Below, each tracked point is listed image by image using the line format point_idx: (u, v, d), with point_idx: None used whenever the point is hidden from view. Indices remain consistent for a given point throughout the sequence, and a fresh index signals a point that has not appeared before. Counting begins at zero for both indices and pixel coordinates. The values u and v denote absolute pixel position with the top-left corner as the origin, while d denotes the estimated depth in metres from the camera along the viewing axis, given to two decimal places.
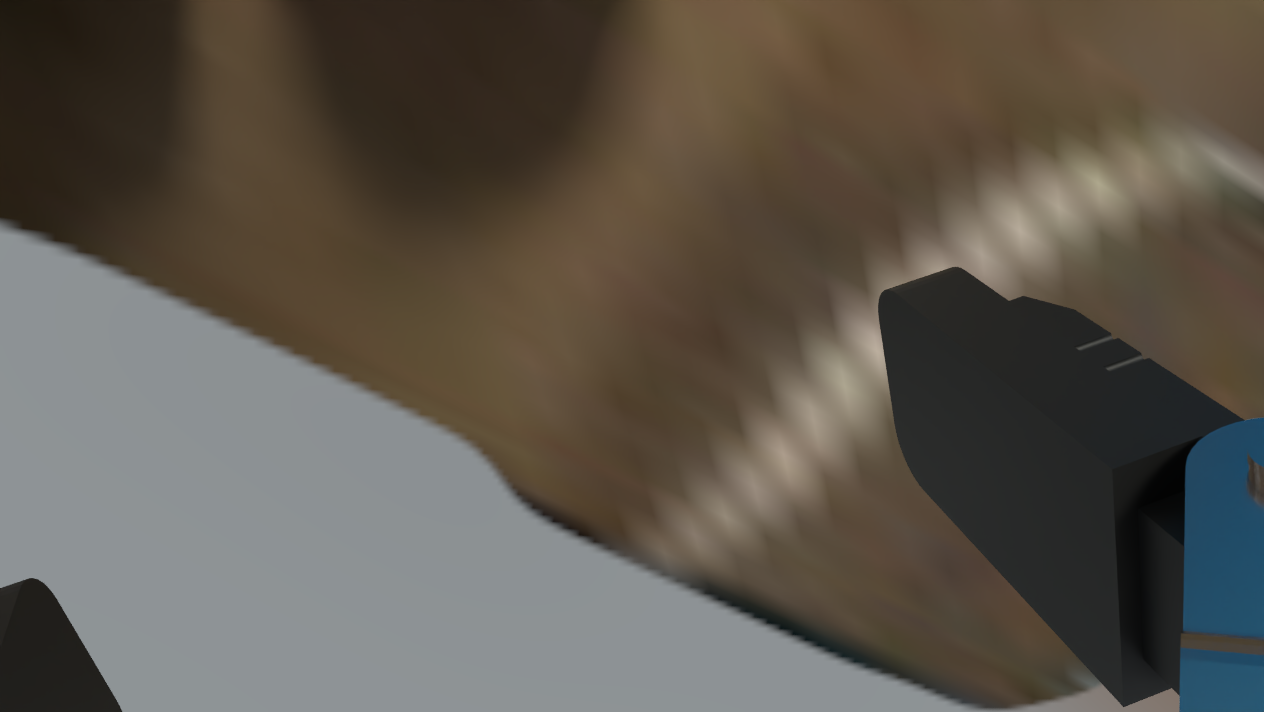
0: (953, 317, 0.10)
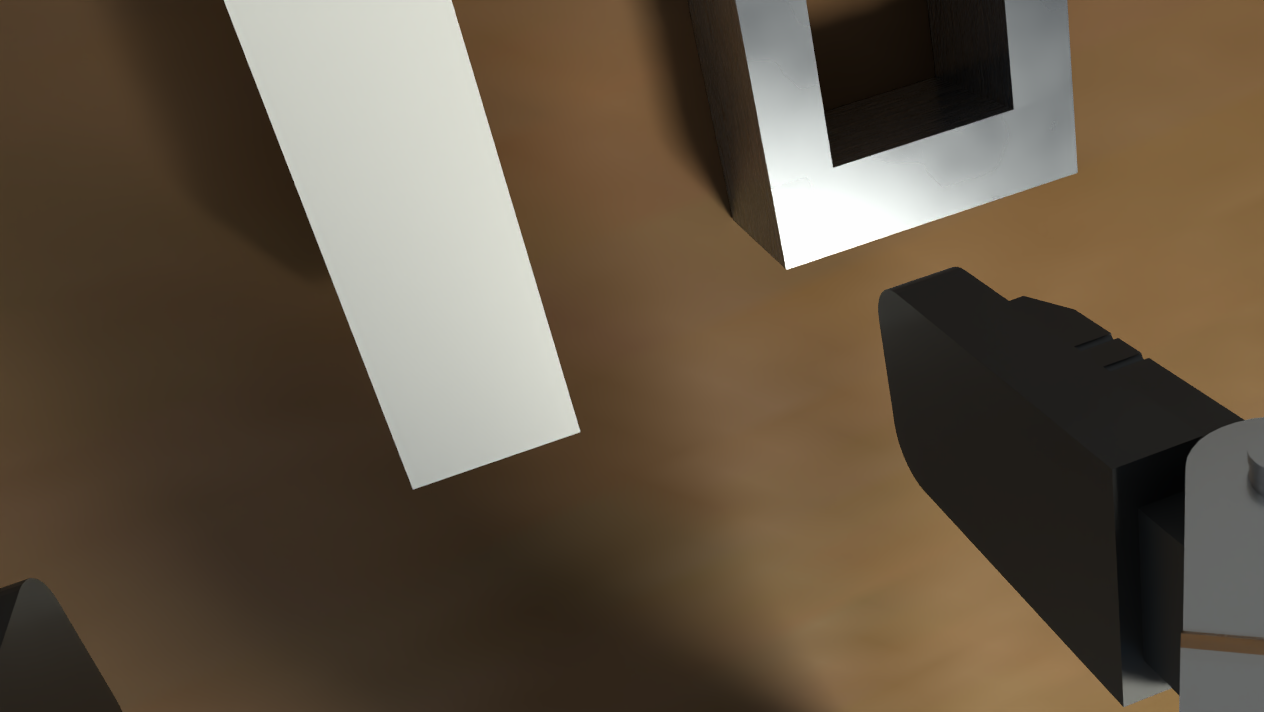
0: (953, 317, 0.10)
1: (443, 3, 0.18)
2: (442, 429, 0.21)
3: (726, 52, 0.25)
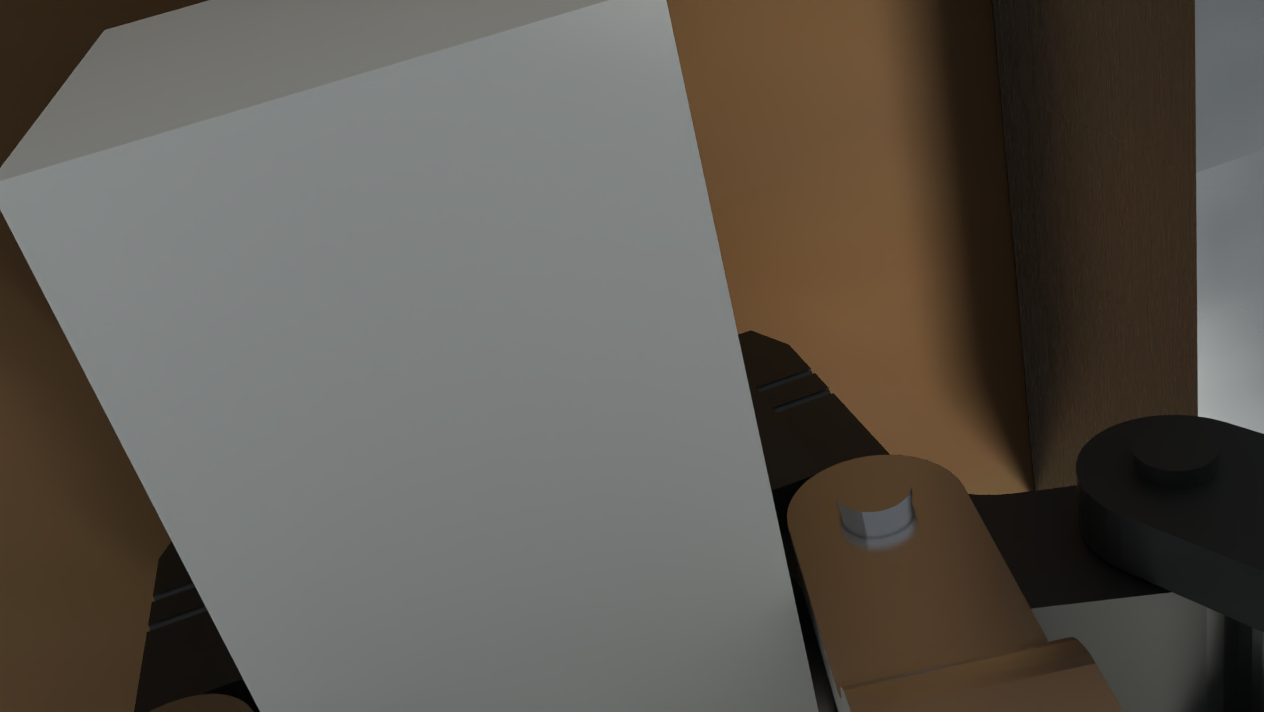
0: None
1: (716, 353, 0.07)
2: None
3: (1118, 271, 0.13)
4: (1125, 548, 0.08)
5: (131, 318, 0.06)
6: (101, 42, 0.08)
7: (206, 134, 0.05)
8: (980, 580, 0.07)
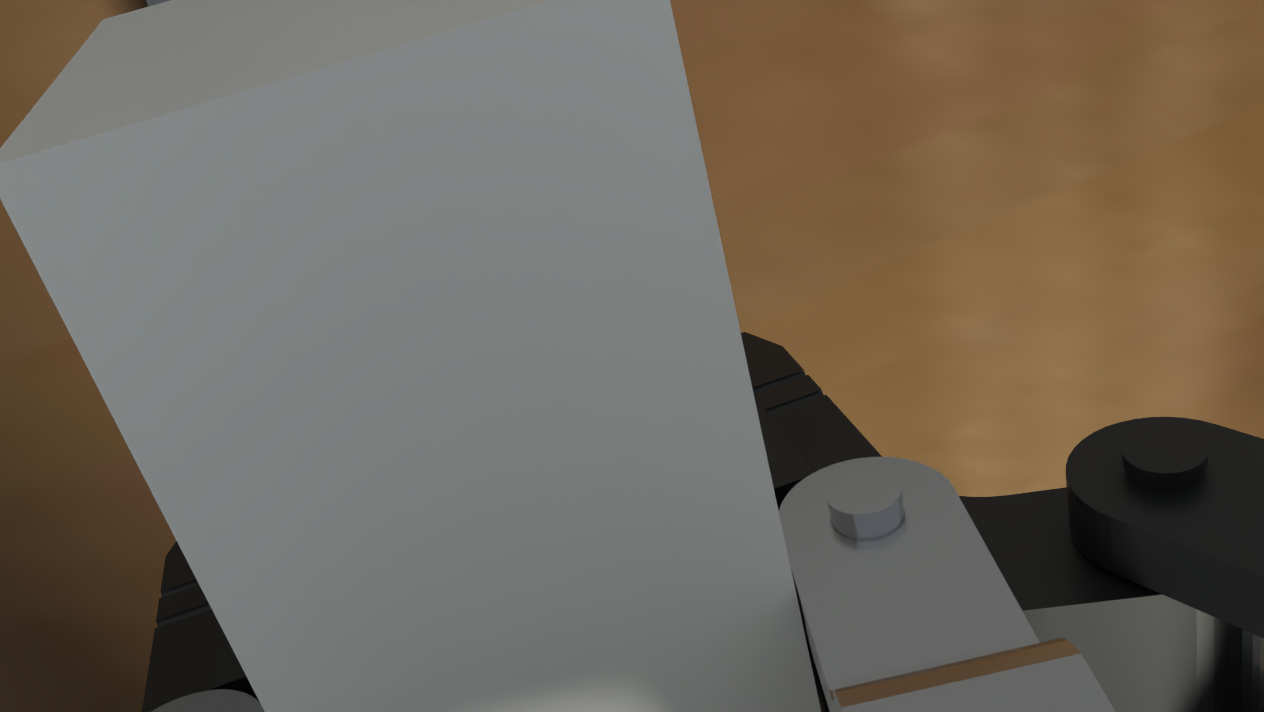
0: None
1: (717, 340, 0.07)
2: None
3: None
4: (1117, 550, 0.08)
5: (129, 303, 0.06)
6: (100, 31, 0.08)
7: (205, 120, 0.05)
8: (969, 582, 0.07)
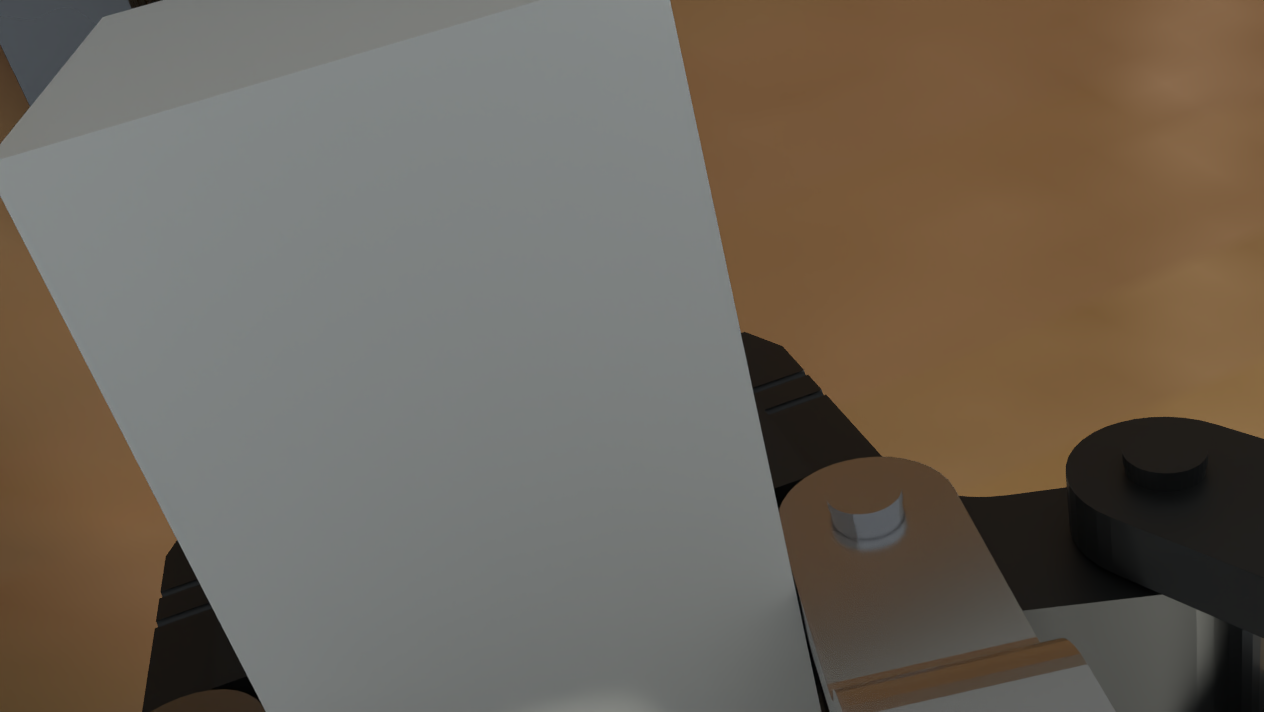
0: None
1: (716, 337, 0.07)
2: None
3: None
4: (1116, 551, 0.08)
5: (129, 299, 0.06)
6: (99, 28, 0.08)
7: (205, 116, 0.05)
8: (969, 582, 0.07)
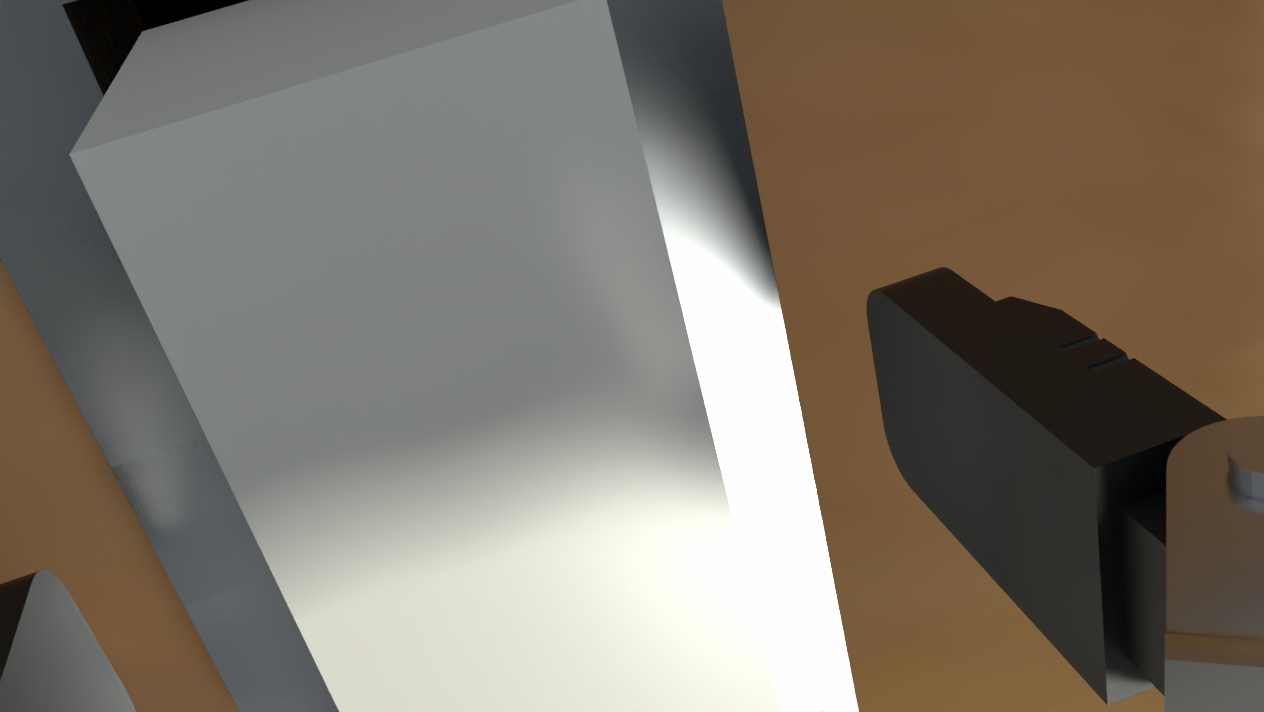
0: (940, 317, 0.10)
1: (658, 295, 0.08)
2: None
3: None
4: None
5: (181, 262, 0.07)
6: (141, 42, 0.10)
7: (241, 116, 0.07)
8: None
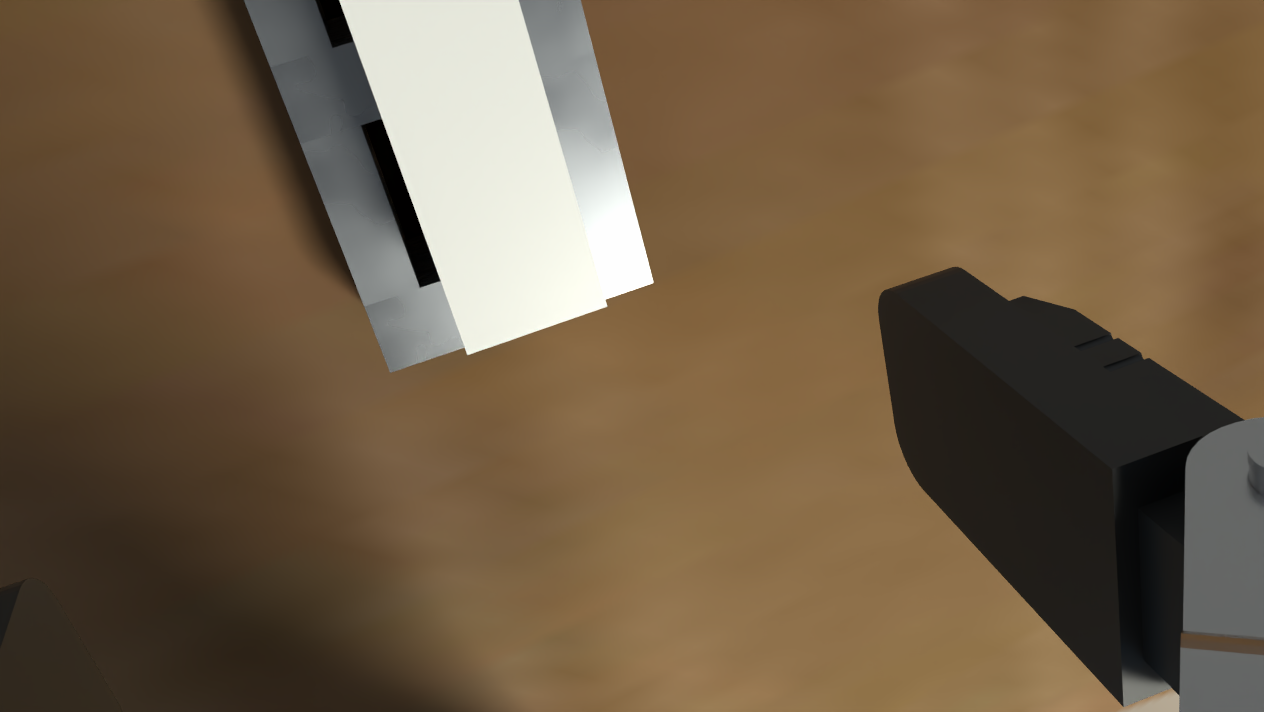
0: (953, 316, 0.10)
1: None
2: (492, 302, 0.25)
3: None
4: None
5: None
6: None
7: None
8: None
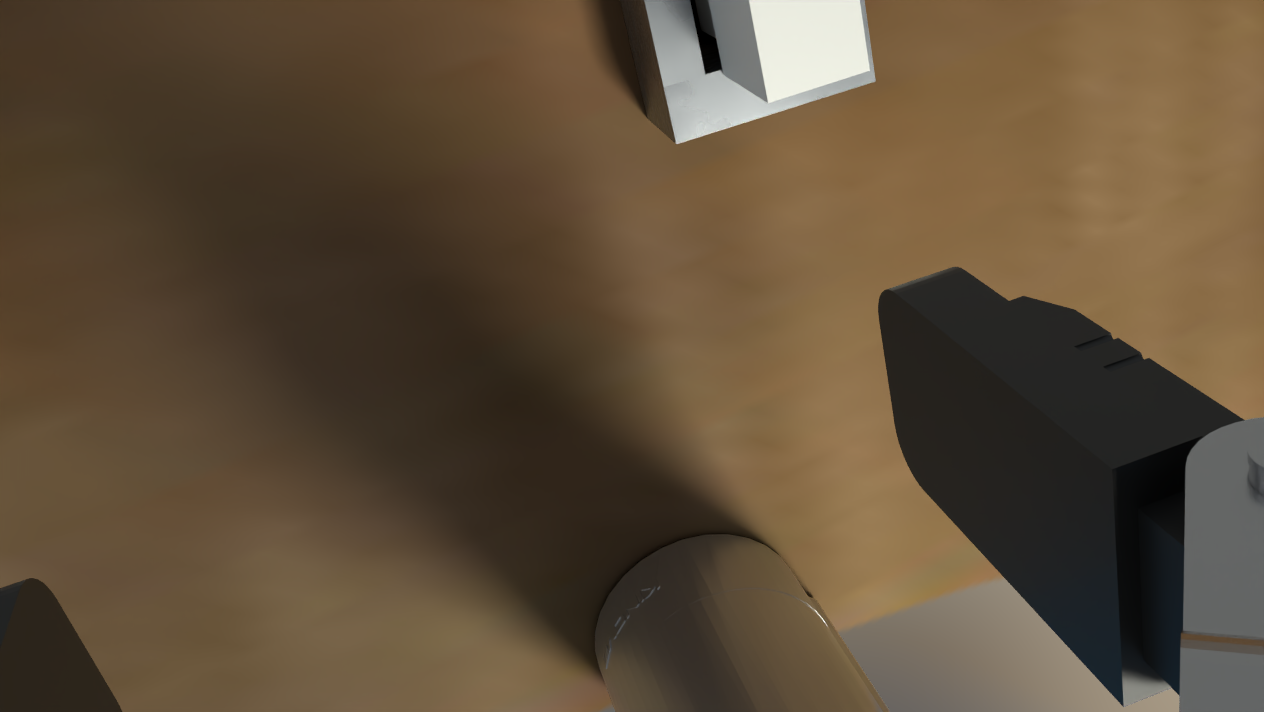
0: (953, 317, 0.10)
1: None
2: (790, 61, 0.34)
3: None
4: None
5: None
6: None
7: None
8: None
